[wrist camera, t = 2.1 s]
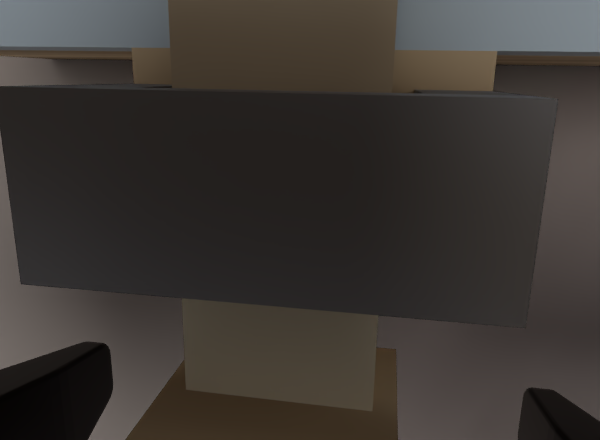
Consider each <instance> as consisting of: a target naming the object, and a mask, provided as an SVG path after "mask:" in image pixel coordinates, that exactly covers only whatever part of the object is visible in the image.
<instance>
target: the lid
mask: <svg viewBox="0 0 600 440" xmlns="http://www.w3.org/2000/svg"><path fill="white" fill-rule="evenodd" d="M132 48H170V35H169V13H168V0H0V50H48V51H132ZM395 50H450V51H497V55H529V56H600V0H398V5H397V21H396V38H395Z"/></svg>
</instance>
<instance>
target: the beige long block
mask: <svg viewBox="0 0 600 440" xmlns="http://www.w3.org/2000/svg"><path fill="white" fill-rule="evenodd" d="M397 5H398V0H168V13H169V35H170V56H171V78H172V88H190V89H236V90H282V91H328V92H374V93H392V86H393V70H394V54H395V38H396V21H397ZM182 317H183V338H184V361H183V362H182V363H181V365H180V366H179V368H178V369H177V370H176V372H175V373H174V374H173V376H172V377H171V378H170V380H169V381H168V382H167V384H166V385H165V387H164V388H163V389H162V391H161V392H160V393H159V395H158V396H157V397H156V399H155V400H154V401H153V403H152V404H151V406H150V407H149V408H148V410H147V411H146V412H145V414H144V415H143V416H142V418H141V419H140V421H139V422H138V423H137V425H136V426H135V427H134V429H133V430H132V431H131V433H130V434H129V435H128V437H127V438H126V440H398V425H397V373H396V349H387V348H377V347H376V345H377V329H378V315H368V314H357V313H345V312H334V311H322V310H311V309H299V308H288V307H277V306H265V305H254V304H242V303H231V302H219V301H208V300H196V299H185V298H182Z"/></svg>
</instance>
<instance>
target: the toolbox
mask: <svg viewBox="0 0 600 440" xmlns="http://www.w3.org/2000/svg"><path fill="white" fill-rule="evenodd" d="M0 56H10V57H28V58H45V59H102V60H132V64H133V79H134V84H95V85H43V86H0V130H1V138H2V145H3V153H4V161H5V168H6V176H7V183H8V191H9V198H10V206H11V213H12V221H13V228H14V236H15V243H16V251H17V258H18V266H19V273H20V281H21V284H25V285H36V286H48V287H59V288H71V289H82V290H93V291H105V292H116V293H128V294H139V295H151V296H162V297H174V298H185V299H196V300H208V301H219V302H231V303H242V304H254V305H265V306H277V307H288V308H299V309H311V310H322V311H334V312H345V313H357V314H368V315H380V316H391V317H402V318H414V319H425V320H437V321H448V322H460V323H471V324H483V325H494V326H505V327H517V328H526V321H527V314H528V307H529V300H530V293H531V286H532V279H533V272H534V265H535V258H536V251H537V244H538V237H539V230H540V223H541V216H542V209H543V202H544V196H545V189H546V182H547V175H548V168H549V161H550V154H551V147H552V140H553V133H554V126H555V119H556V112H557V105H558V99H553V98H545V97H537V96H529V95H520V94H512V93H504V92H496V91H493V85H494V76H495V67H496V65H560V66H600V56H529V55H497V51H450V50H395V54H394V70H393V86H392V93H374V92H328V91H282V90H236V89H190V88H172V78H171V56H170V48H132V51H48V50H0Z"/></svg>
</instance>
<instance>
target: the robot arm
mask: <svg viewBox="0 0 600 440" xmlns="http://www.w3.org/2000/svg"><path fill="white" fill-rule="evenodd" d="M112 390H113V376H112V365H111V354H110V349H109V347H108V346H107V345H106V344H104V343H97V342H82V343H79V344H76V345H73V346H70V347H67V348H64V349H61V350H58V351H55V352H52V353H49V354H46V355H43V356H40V357H37V358H34V359H31V360H28V361H25V362H22V363H19V364H16V365H13V366H10V367H7V368H4V369H1V370H0V440H88V438H89V436H90V435H91V433H92V431H93V429H94V427H95V425H96V423H97V422H98V420H99V418H100V416H101V414H102V412H103V410H104V409H105V407H106V405H107V403H108V401H109V399H110V397H111V394H112ZM518 440H600V421H598V420H597V419H595V418H594V417H592V416H591V415H589V414H588V413H586V412H585V411H583V410H582V409H581V408H579V407H578V406H576V405H575V404H573V403H572V402H570V401H569V400H567V399H566V398H564V397H563V396H562V395H560V394H559V393H557V392H556V391H554V390H550V389H540V388H528V389H527V390H526V391H525V393H524V396H523V402H522V409H521V416H520V423H519V429H518Z"/></svg>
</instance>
